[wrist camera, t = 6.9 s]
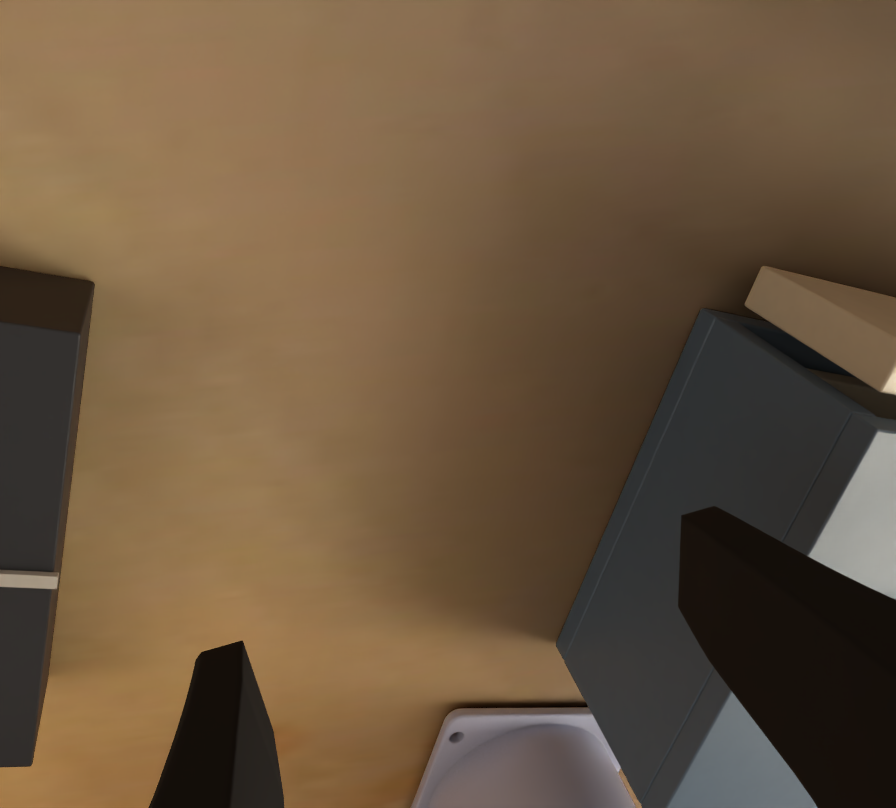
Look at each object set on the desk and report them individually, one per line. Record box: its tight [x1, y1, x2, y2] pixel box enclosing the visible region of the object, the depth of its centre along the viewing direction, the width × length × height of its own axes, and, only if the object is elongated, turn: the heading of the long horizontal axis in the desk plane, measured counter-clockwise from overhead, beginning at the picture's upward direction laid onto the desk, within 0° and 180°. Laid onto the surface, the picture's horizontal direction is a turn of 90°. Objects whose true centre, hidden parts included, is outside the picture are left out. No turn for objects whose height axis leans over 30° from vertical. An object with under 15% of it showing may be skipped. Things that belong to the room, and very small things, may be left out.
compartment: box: [556, 308, 896, 808], centre depth 25 cm, size 13×12×7 cm
